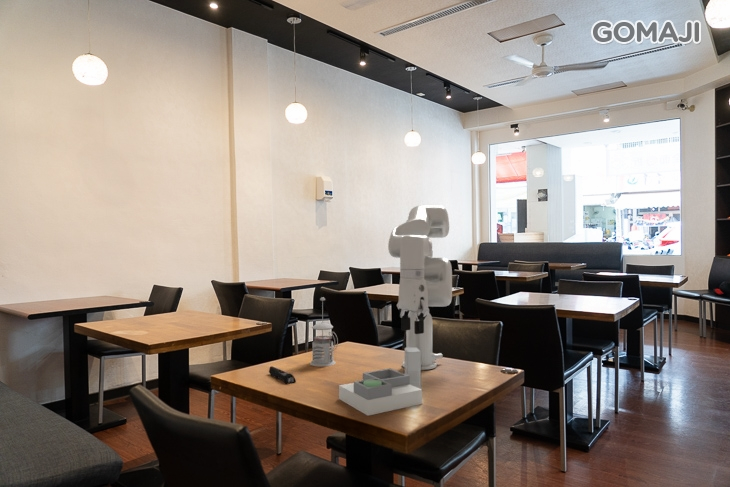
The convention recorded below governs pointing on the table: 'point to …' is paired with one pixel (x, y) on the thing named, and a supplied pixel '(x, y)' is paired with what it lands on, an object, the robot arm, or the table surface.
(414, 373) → the skincare box
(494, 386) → the table surface
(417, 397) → the white socket tray
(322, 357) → the french press
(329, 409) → the table surface
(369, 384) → the on button
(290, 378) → the electric trimmer
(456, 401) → the table surface
